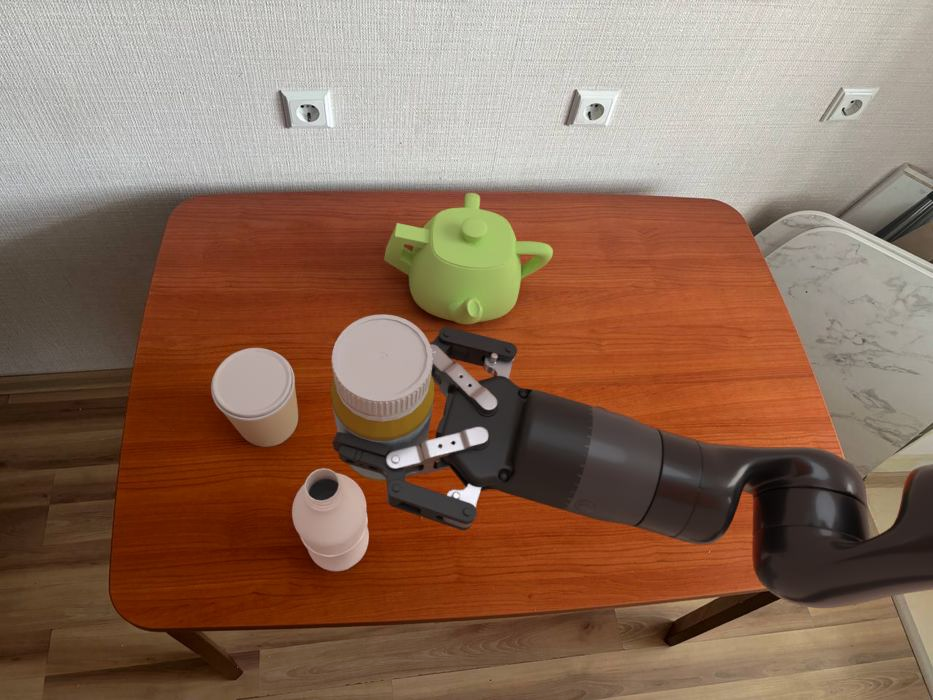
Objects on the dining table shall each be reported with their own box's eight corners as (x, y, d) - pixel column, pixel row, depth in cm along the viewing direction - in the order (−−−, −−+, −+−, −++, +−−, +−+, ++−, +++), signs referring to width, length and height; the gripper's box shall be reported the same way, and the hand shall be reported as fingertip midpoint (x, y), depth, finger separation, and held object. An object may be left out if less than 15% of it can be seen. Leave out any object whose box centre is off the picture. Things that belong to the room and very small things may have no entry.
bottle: (393, 389, 52) (395, 290, 39) (443, 451, 49) (462, 367, 36) (324, 434, 49) (301, 344, 36) (373, 501, 47) (367, 431, 34)
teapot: (466, 224, 100) (478, 159, 88) (548, 302, 94) (574, 245, 82) (377, 277, 93) (376, 214, 80) (461, 366, 87) (474, 314, 74)
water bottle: (324, 506, 74) (302, 434, 53) (378, 525, 74) (377, 461, 53) (299, 562, 71) (263, 509, 49) (355, 583, 71) (344, 539, 49)
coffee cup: (316, 401, 81) (307, 360, 71) (285, 463, 77) (270, 428, 66) (253, 379, 82) (235, 335, 71) (218, 439, 77) (193, 401, 67)
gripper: (548, 570, 41) (321, 503, 42) (580, 392, 48) (386, 336, 49) (578, 549, 35) (309, 469, 35) (610, 347, 42) (386, 283, 42)
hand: (354, 392), depth 42 cm, fingers closed on bottle, 7 cm apart
